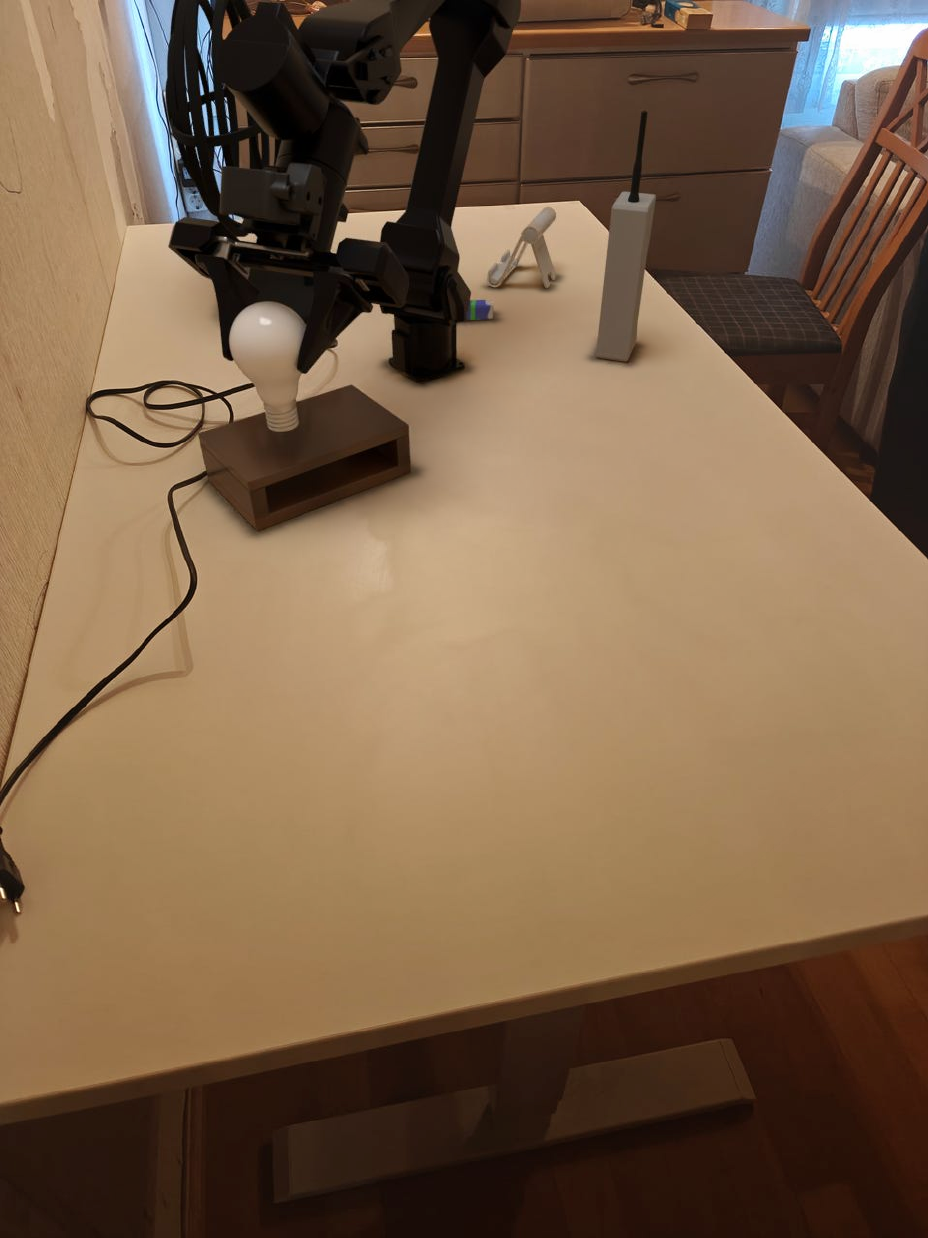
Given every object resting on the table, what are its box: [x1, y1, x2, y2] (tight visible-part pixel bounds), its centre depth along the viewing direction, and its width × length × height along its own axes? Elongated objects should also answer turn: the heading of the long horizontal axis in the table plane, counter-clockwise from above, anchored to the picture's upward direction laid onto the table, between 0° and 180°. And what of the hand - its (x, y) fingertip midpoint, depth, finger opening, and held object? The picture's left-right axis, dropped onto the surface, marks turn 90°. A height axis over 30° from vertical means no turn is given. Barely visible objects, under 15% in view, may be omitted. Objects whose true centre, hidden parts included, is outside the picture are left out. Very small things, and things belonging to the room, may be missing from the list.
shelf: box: [197, 384, 412, 532], centre depth 80 cm, size 16×10×5 cm, turn 127°
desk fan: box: [165, 0, 314, 325], centre depth 102 cm, size 27×18×35 cm, turn 0°
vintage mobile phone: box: [595, 110, 657, 363], centre depth 93 cm, size 4×5×25 cm
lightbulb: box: [229, 301, 307, 433], centre depth 71 cm, size 6×6×11 cm
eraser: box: [466, 298, 495, 321], centre depth 108 cm, size 2×6×2 cm, turn 98°
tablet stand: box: [486, 206, 557, 289], centre depth 116 cm, size 9×8×8 cm
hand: (263, 365), depth 69 cm, fingers closed on lightbulb, 6 cm apart
